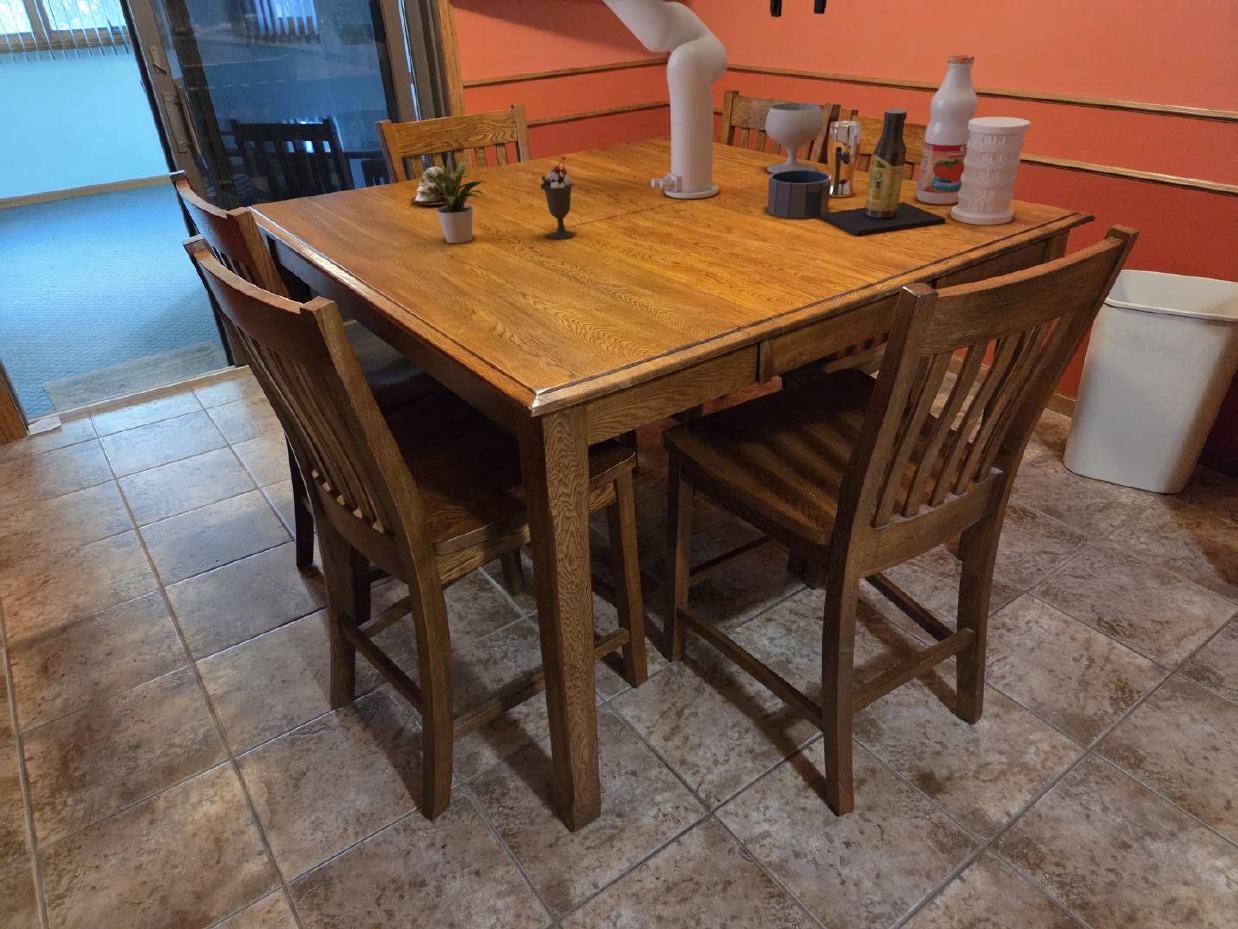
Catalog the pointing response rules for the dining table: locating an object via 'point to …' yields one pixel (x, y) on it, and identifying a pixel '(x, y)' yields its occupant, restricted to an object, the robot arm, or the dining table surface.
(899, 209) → the placemat
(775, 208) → the holder
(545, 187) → the sundae
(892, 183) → the sauce bottle
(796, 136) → the chalice
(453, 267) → the dining table surface
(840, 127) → the beer glass
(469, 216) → the house plant
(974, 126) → the decorative container
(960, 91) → the fruit juice
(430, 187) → the skull
